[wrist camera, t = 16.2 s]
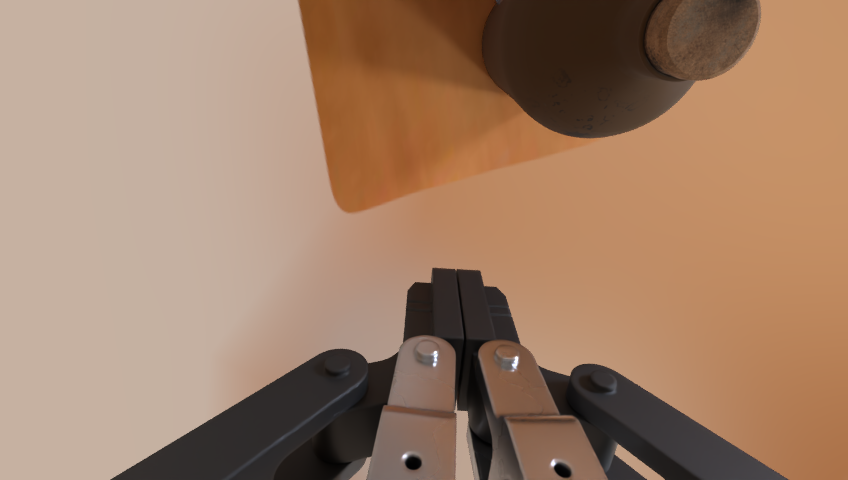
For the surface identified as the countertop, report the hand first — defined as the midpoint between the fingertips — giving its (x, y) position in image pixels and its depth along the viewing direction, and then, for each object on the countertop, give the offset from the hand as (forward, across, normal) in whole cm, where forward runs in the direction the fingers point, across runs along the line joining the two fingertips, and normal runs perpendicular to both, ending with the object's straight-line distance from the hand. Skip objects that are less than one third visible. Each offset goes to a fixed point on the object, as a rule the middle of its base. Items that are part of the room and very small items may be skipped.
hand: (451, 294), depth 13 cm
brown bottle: (+29, -8, -8) cm, 31 cm away
